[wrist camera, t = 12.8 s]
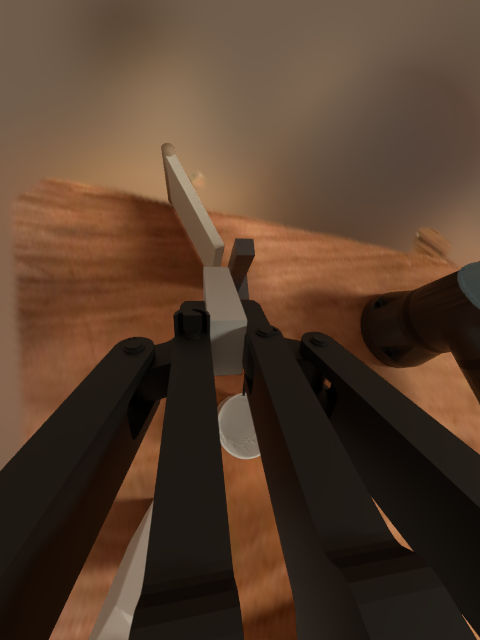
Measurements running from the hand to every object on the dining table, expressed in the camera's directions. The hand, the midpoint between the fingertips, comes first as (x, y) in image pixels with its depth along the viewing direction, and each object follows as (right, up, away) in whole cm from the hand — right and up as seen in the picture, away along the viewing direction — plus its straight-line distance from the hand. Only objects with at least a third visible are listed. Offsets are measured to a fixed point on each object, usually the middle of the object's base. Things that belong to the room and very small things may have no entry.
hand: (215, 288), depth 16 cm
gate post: (0, +4, +32) cm, 32 cm away
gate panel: (-8, +14, +32) cm, 36 cm away
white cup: (+1, -18, +26) cm, 31 cm away
